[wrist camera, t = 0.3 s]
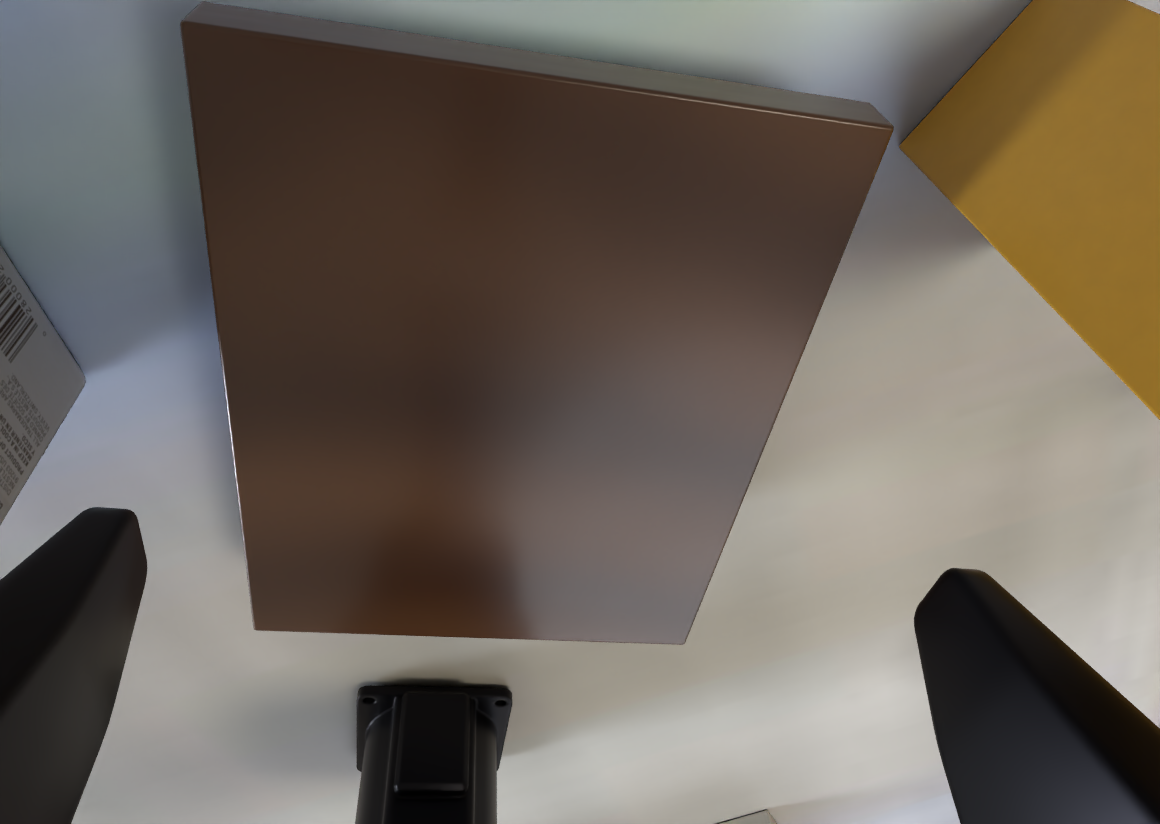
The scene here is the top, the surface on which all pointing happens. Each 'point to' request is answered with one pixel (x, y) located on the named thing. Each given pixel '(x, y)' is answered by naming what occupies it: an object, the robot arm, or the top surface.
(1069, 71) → the block
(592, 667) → the top surface
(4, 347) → the coffee box
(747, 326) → the board stand
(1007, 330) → the top surface
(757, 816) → the product packaging
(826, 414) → the top surface
